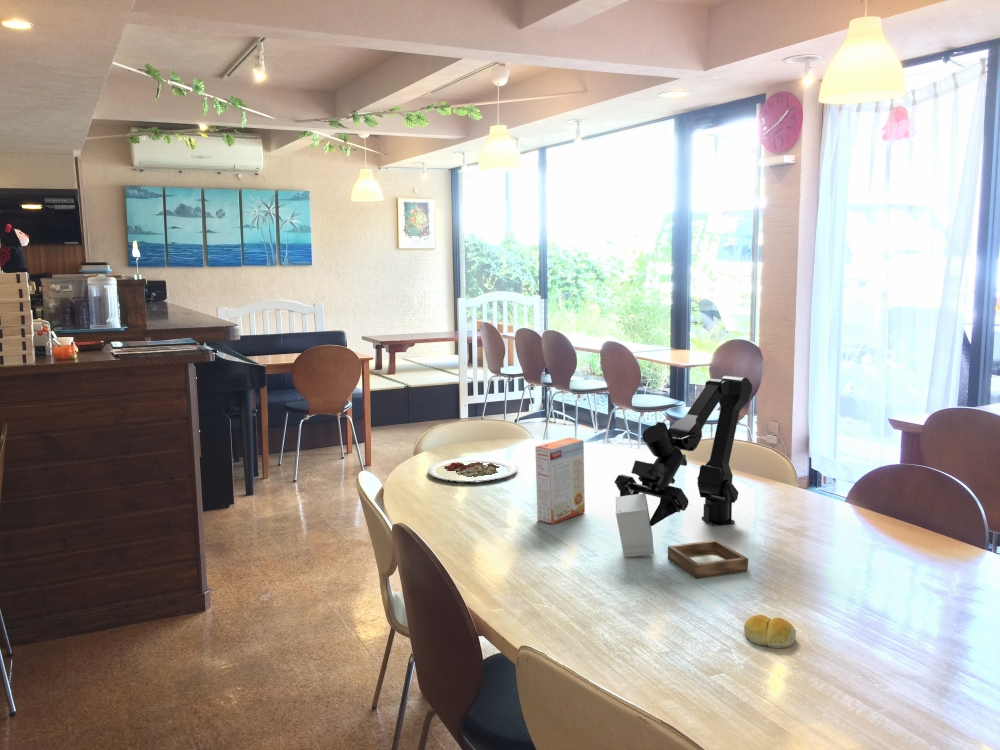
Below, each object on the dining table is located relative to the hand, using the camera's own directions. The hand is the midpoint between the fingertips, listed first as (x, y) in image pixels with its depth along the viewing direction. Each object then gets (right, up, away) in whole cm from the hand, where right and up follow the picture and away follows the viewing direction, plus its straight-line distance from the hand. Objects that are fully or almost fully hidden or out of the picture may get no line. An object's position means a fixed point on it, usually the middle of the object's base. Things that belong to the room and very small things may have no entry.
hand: (634, 520), depth 189 cm
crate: (+16, -9, -6) cm, 19 cm away
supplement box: (+2, -7, +2) cm, 8 cm away
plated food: (-41, +1, +78) cm, 88 cm away
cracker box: (-15, -5, +31) cm, 35 cm away
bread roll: (+18, -15, -41) cm, 47 cm away
